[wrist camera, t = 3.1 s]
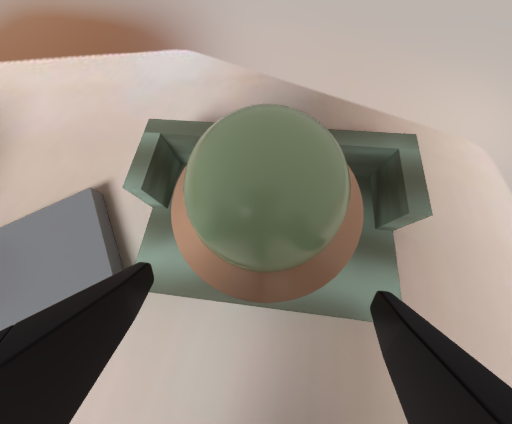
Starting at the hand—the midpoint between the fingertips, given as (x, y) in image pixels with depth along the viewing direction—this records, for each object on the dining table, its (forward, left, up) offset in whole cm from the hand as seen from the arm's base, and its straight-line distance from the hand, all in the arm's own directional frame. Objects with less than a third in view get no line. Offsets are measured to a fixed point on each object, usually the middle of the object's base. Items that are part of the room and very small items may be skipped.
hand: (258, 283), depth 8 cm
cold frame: (+5, -1, -10) cm, 11 cm away
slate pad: (0, +20, -10) cm, 22 cm away
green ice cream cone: (+3, 0, -8) cm, 8 cm away
